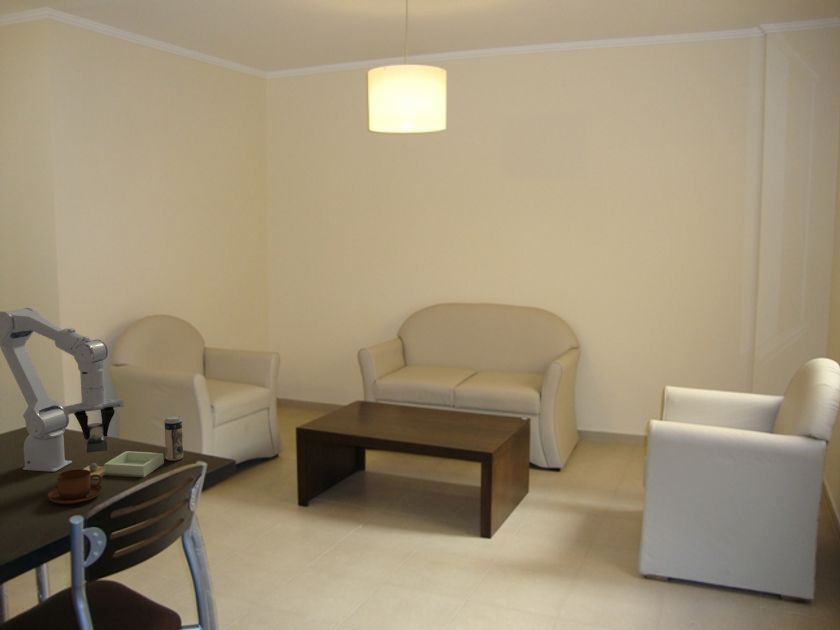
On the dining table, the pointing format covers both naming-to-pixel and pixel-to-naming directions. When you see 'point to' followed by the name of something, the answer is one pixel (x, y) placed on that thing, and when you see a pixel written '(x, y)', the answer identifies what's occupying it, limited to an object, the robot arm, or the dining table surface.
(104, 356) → the robot arm
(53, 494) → the cup and saucer
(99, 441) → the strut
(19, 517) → the dining table surface
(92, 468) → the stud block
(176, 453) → the lidded jar
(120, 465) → the tray
